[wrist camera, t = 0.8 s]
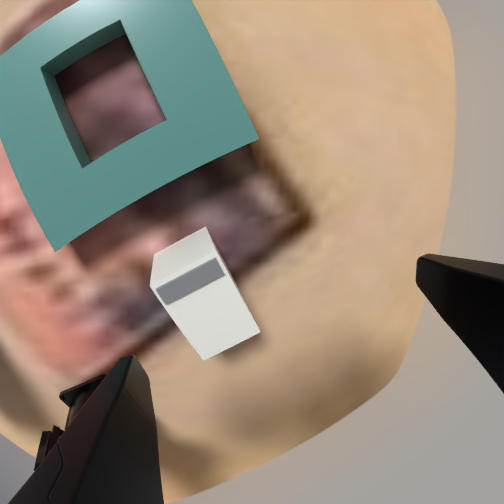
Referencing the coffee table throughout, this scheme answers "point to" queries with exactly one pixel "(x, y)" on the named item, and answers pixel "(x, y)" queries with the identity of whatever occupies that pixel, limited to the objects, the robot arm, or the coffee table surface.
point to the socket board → (137, 148)
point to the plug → (201, 295)
